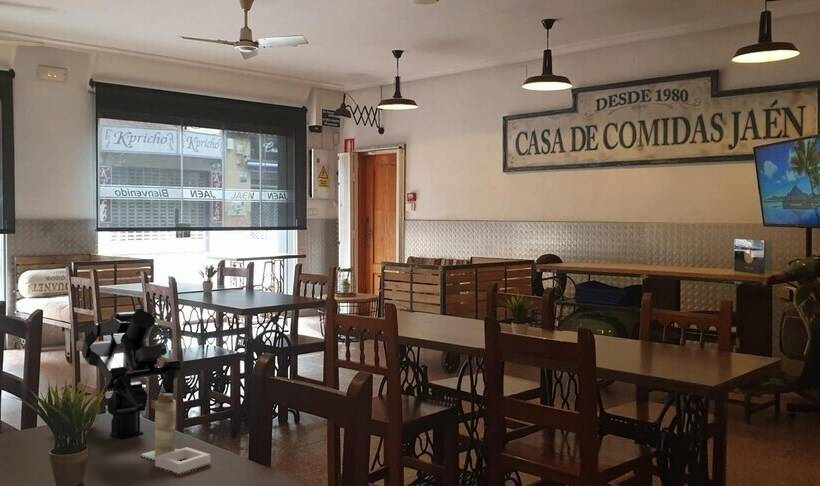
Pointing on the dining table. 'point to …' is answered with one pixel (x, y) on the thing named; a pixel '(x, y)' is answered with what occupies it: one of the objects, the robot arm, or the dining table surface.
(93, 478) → the dining table surface
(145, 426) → the dining table surface
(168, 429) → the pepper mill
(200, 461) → the pocket holder
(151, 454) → the rubber mat
